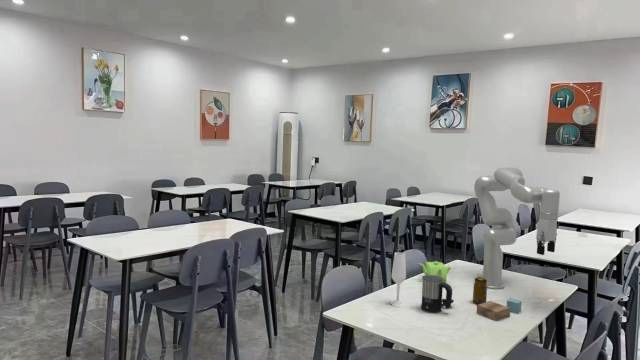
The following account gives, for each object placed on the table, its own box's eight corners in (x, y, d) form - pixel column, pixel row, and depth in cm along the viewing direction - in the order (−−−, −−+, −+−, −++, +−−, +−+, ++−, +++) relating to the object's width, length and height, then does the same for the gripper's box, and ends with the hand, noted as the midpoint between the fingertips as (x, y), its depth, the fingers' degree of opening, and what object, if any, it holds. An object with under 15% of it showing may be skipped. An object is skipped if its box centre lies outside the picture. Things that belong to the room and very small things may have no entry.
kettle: (440, 287, 233) (441, 267, 232) (416, 281, 243) (417, 261, 242) (453, 282, 244) (454, 262, 243) (430, 276, 253) (431, 257, 253)
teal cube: (506, 311, 203) (507, 300, 202) (509, 308, 206) (510, 297, 206) (517, 314, 199) (518, 303, 199) (520, 311, 203) (521, 300, 203)
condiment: (479, 299, 217) (480, 275, 216) (492, 305, 209) (494, 280, 208) (468, 301, 214) (469, 277, 213) (481, 307, 206) (483, 282, 205)
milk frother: (419, 311, 199) (420, 278, 198) (423, 300, 214) (425, 269, 212) (451, 316, 194) (453, 283, 193) (454, 304, 209) (455, 273, 208)
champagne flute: (387, 303, 207) (389, 253, 205) (395, 300, 212) (397, 251, 210) (399, 307, 202) (402, 256, 200) (407, 304, 207) (410, 253, 205)
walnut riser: (476, 313, 198) (477, 304, 198) (489, 309, 204) (490, 300, 204) (496, 321, 190) (497, 312, 190) (509, 316, 196) (510, 307, 196)
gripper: (549, 213, 211) (546, 249, 212) (531, 216, 200) (528, 253, 202) (565, 216, 205) (562, 252, 207) (547, 219, 195) (544, 257, 196)
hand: (545, 252), depth 204 cm, fingers open, 9 cm apart
